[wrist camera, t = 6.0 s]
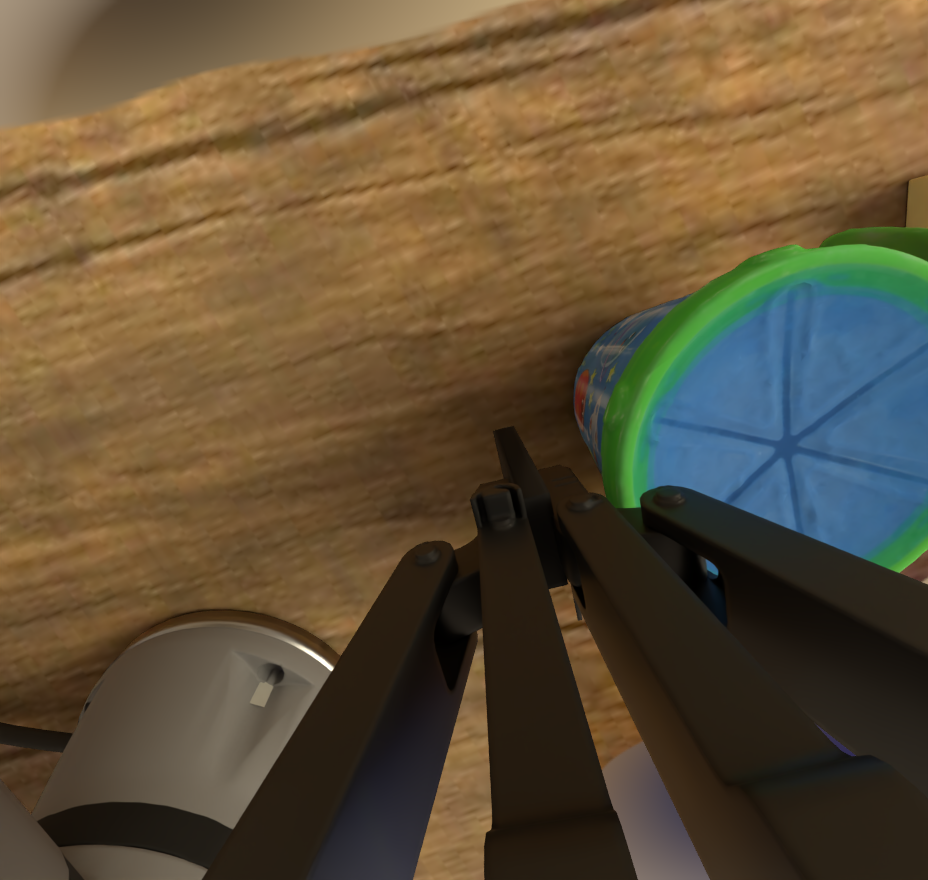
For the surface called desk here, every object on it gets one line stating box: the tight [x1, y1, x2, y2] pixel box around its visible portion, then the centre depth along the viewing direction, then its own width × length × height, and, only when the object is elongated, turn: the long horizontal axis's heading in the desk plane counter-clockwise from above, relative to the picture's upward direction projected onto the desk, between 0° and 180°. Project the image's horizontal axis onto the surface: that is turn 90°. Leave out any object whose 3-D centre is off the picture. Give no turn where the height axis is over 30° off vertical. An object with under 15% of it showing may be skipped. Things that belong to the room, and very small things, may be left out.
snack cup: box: [573, 227, 928, 575], centre depth 16 cm, size 16×10×10 cm
